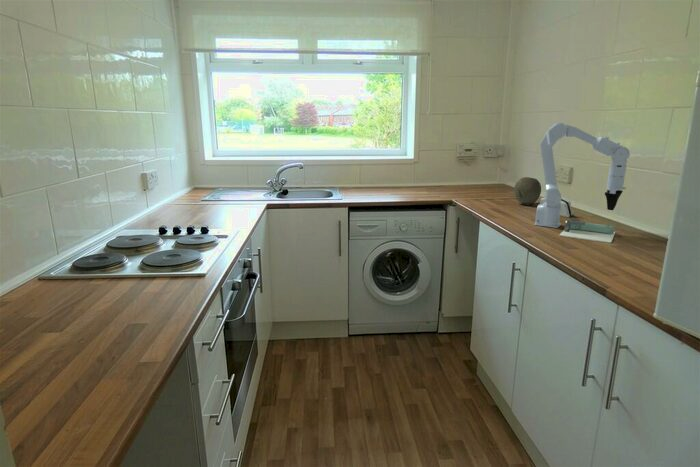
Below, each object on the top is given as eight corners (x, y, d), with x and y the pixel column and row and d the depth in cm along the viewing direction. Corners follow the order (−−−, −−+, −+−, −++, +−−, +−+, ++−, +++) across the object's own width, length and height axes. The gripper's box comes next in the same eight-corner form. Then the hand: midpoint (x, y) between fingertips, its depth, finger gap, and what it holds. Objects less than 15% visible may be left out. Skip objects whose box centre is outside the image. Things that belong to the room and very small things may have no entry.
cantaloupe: (544, 206, 229) (547, 179, 225) (517, 206, 229) (520, 179, 225) (533, 202, 242) (536, 175, 238) (508, 202, 242) (511, 175, 239)
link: (565, 228, 180) (566, 222, 179) (568, 225, 184) (568, 220, 183) (613, 234, 170) (614, 228, 170) (614, 231, 174) (615, 225, 174)
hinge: (575, 216, 206) (573, 197, 202) (568, 220, 205) (566, 201, 201) (546, 209, 221) (544, 192, 217) (540, 213, 219) (537, 196, 216)
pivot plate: (559, 235, 171) (560, 224, 170) (567, 227, 185) (568, 216, 184) (610, 243, 161) (612, 231, 160) (615, 233, 175) (617, 222, 174)
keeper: (564, 231, 176) (565, 221, 175) (563, 230, 178) (565, 220, 177) (583, 233, 173) (585, 222, 172) (583, 232, 175) (585, 221, 174)
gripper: (626, 178, 166) (621, 212, 169) (629, 174, 177) (623, 206, 180) (605, 177, 170) (600, 210, 173) (609, 173, 181) (604, 205, 184)
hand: (611, 208), depth 177 cm, fingers open, 6 cm apart
